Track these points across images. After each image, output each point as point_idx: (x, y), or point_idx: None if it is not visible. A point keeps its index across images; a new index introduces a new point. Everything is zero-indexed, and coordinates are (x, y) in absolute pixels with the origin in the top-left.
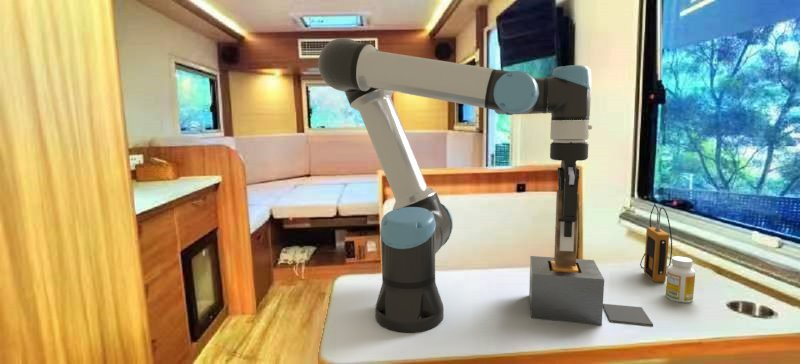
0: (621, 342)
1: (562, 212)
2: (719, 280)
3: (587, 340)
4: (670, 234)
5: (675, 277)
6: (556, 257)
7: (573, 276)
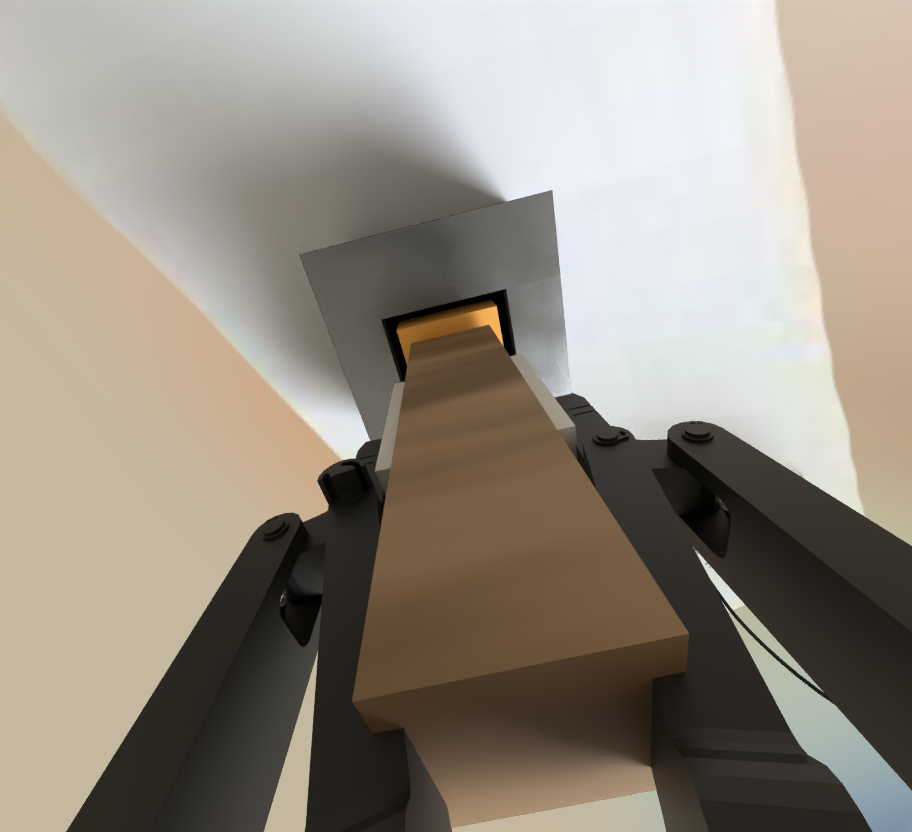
0: (340, 456)
1: (332, 538)
2: (732, 598)
3: (306, 397)
4: (773, 654)
5: None
6: (409, 354)
7: (364, 407)
